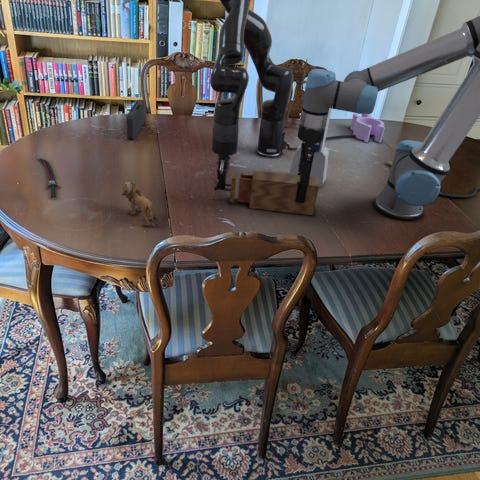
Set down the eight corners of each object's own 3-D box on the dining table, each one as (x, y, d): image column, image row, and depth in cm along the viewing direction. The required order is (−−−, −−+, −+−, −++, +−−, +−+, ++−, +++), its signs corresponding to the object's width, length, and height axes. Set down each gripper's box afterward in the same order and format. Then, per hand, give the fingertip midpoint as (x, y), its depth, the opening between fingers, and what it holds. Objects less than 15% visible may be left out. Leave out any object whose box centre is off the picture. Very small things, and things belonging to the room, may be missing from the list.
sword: (61, 197, 141) (61, 193, 140) (50, 198, 139) (50, 194, 139) (49, 160, 164) (48, 156, 163) (39, 160, 163) (39, 157, 162)
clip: (343, 126, 223) (346, 112, 219) (367, 127, 225) (371, 113, 221) (360, 142, 206) (364, 127, 202) (386, 142, 209) (390, 127, 205)
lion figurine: (118, 210, 138) (116, 182, 133) (132, 204, 141) (131, 177, 137) (151, 229, 130) (150, 201, 126) (165, 223, 134) (165, 195, 129)
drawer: (212, 200, 147) (214, 176, 142) (214, 193, 151) (216, 169, 147) (290, 209, 146) (293, 185, 142) (289, 201, 151) (293, 178, 146)
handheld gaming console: (138, 121, 203) (138, 98, 197) (145, 121, 203) (144, 98, 198) (126, 140, 184) (125, 115, 178) (133, 140, 184) (132, 115, 178)
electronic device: (325, 180, 169) (342, 97, 152) (321, 188, 163) (339, 103, 146) (292, 173, 172) (306, 91, 155) (287, 181, 165) (301, 96, 149)
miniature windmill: (301, 130, 212) (313, 61, 196) (283, 127, 213) (293, 58, 197) (303, 124, 220) (314, 57, 204) (285, 121, 221) (295, 54, 205)
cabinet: (249, 208, 147) (252, 178, 141) (250, 198, 152) (253, 170, 146) (313, 215, 146) (318, 186, 141) (312, 205, 152) (317, 177, 146)
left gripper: (215, 127, 144) (212, 178, 153) (209, 143, 132) (207, 197, 142) (239, 130, 143) (235, 181, 153) (236, 146, 132) (231, 199, 142)
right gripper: (298, 114, 142) (287, 182, 155) (300, 136, 126) (287, 210, 139) (322, 117, 142) (309, 185, 155) (327, 139, 126) (312, 213, 139)
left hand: (221, 188), depth 147 cm, fingers closed
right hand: (299, 197), depth 147 cm, fingers closed on cabinet, 6 cm apart
